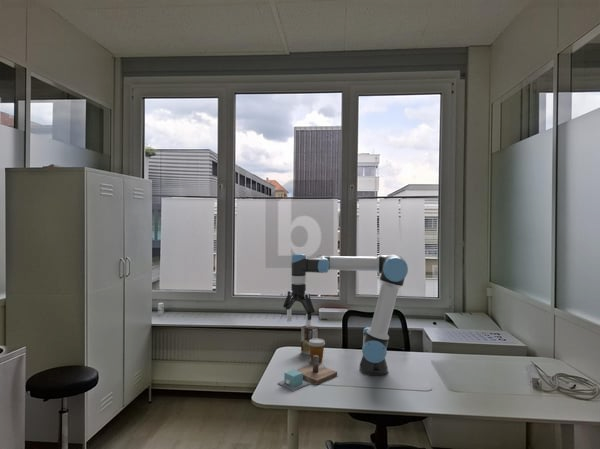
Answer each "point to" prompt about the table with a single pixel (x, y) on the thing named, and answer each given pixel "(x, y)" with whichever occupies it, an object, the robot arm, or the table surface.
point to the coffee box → (308, 337)
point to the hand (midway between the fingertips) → (298, 323)
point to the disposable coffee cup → (316, 348)
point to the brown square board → (317, 372)
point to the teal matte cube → (293, 377)
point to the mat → (294, 386)
